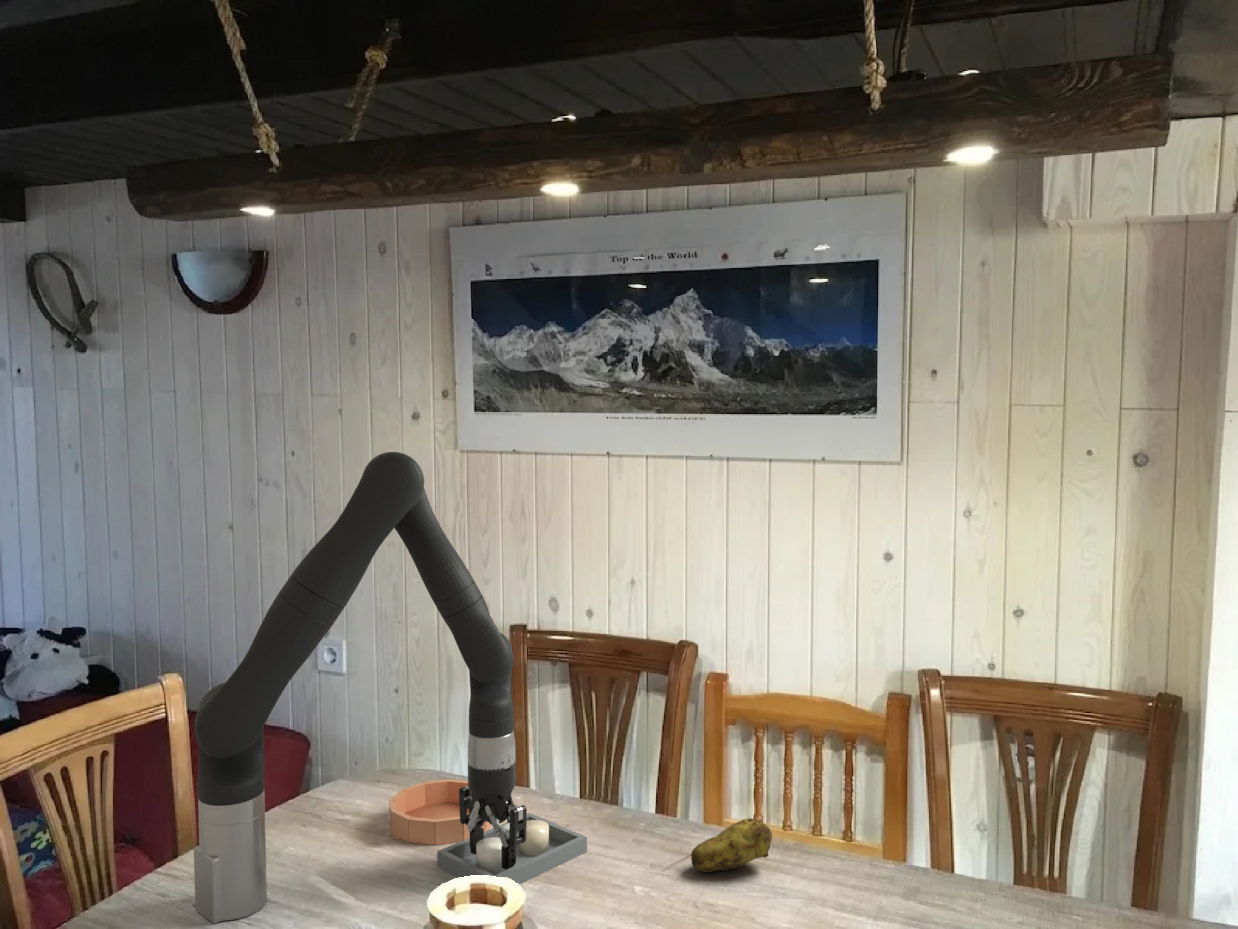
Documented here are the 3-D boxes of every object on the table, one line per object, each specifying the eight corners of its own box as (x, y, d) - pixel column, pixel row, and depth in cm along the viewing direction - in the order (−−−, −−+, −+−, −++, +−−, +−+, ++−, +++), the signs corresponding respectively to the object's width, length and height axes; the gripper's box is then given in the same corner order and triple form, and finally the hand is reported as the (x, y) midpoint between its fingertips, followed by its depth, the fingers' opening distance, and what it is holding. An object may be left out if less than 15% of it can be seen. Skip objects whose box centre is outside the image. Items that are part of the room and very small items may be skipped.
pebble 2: (533, 859, 162) (532, 835, 162) (512, 850, 165) (512, 826, 165) (555, 849, 166) (555, 826, 165) (534, 840, 169) (534, 817, 169)
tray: (494, 902, 150) (494, 880, 150) (437, 872, 160) (437, 851, 159) (587, 857, 165) (587, 837, 165) (529, 832, 174) (529, 813, 174)
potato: (693, 855, 166) (693, 808, 166) (771, 860, 164) (772, 813, 164) (689, 878, 158) (690, 829, 157) (771, 884, 156) (772, 835, 155)
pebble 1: (490, 879, 155) (490, 854, 155) (470, 869, 159) (469, 844, 159) (514, 868, 159) (514, 844, 159) (494, 858, 162) (493, 834, 162)
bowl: (432, 860, 164) (432, 831, 163) (370, 828, 176) (369, 800, 176) (514, 825, 177) (514, 798, 177) (451, 798, 189) (451, 772, 189)
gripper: (444, 754, 160) (445, 854, 161) (503, 777, 150) (504, 883, 151) (480, 742, 165) (481, 839, 166) (540, 763, 156) (540, 866, 157)
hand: (492, 859), depth 159 cm, fingers open, 7 cm apart
